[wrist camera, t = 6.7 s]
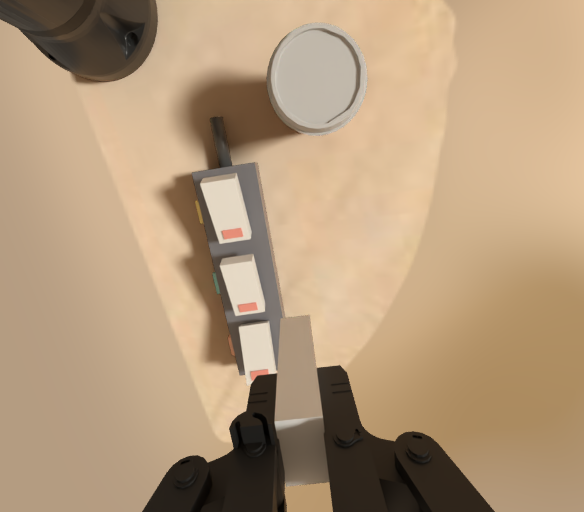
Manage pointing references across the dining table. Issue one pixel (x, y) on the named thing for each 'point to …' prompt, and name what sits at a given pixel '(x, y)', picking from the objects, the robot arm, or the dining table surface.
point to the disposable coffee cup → (317, 79)
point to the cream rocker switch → (257, 350)
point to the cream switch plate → (243, 284)
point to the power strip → (243, 245)
